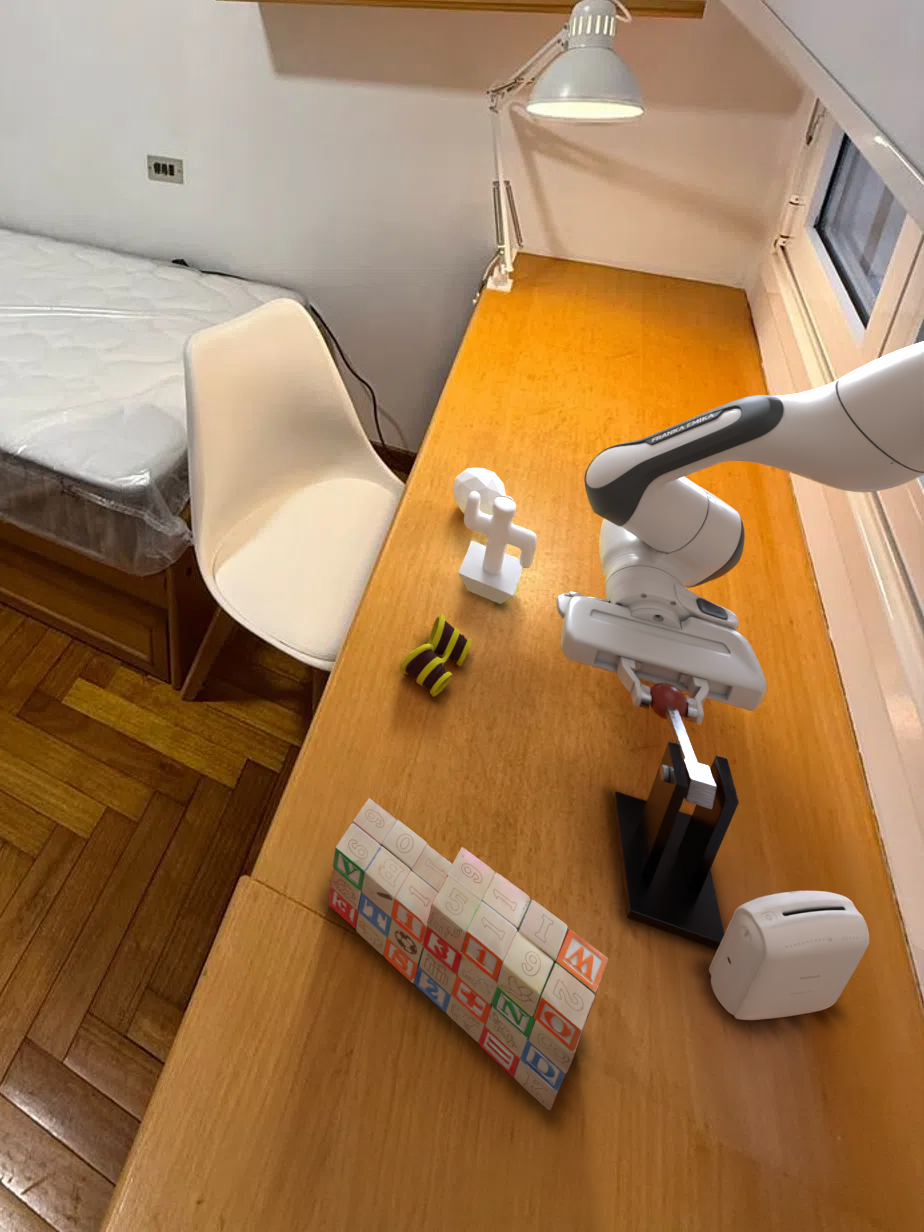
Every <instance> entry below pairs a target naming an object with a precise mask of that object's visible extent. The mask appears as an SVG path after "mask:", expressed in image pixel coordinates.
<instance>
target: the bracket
mask: <svg viewBox="0 0 924 1232" xmlns="http://www.w3.org/2000/svg"><path fill="white" fill-rule="evenodd" d="M710 770H711V773H712V775H713V778H714V780H715V783H716V785H717V791H716V795H715V799H714V804H713V808H712V809H709V808H705V807H702V806H699V805H696V804H695V805H694V808H693V811H692V813H691V814H689V813H686V812H683V811H681V808H682V805H683V802H684V800H685V795H686V792H687V790H688V782H687V778H686V773H685V768H684V763H683V758H682V754H681V749H680V745H679V744H677V743H675V742H674V741H668V742H667V744H666V746H665V750H664V752H663V754H662V758H661V761H660V763H659V766H658V768H657V772H656V774H655V777H654V780H653V783H652V785H651V788H650V791H649V794H648V797H647V799H646V800H645V799H642V798H638V797H636V796H633V795H630V794H626V793H623V792H620V791H617V790H614V793H613V795H612V802H613V803H612V804H613V811H614V818H615V827H616V835H617V843H618V851H619V858H620V867H621V876H622V882H623V883H622V884H623V892H624V893H623V894H624V900H625V907H626V916H627V918H628V919H629V920H633V921H634V922H635V921H636V922H639V923H641V924H644V925H646V926H649V927H652V928H655V929H658V930H660V931H664V932H666V933H670V934H672V935H674V936H677V937H680V938H683V939H686V940H688V941H691V942H695V943H696V944H701V945H703V946H705V947H708V948H711V949H714V950H716V951H717V950H718V948H719V946H720V943H721V941H722V939H723V937H724V935H725V931H724V927H723V923H722V917H721V912H720V906H719V902H718V898H717V894H716V890H715V889H716V888H715V884H714V879H713V875H712V874H713V873H712V870H711V869H712V866H713V864H714V861H715V859H716V857H717V855H718V853H719V850H720V848H721V846H722V843H723V841H724V838H725V836H726V834H727V832H728V829H729V827H730V824H731V822H732V820H733V817H734V816H735V813H736V811H737V808H738V806H739V804H740V801H739V798H738V797H739V796H738V794H737V789H736V786H735V782H734V778H733V775H732V771H731V767H730V763H729V759H728V758H727V757H724V756H721V755H717V754H715V756H714V758H713V761H712V764H711V766H710Z"/></svg>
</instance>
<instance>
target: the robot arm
mask: <svg viewBox="0 0 924 1232" xmlns="http://www.w3.org/2000/svg"><path fill="white" fill-rule="evenodd" d="M728 462H744V463H745V462H746V463H752V464H758V465H762V466H767V467H770V468H774V469H777V470H780V471H781V470H782V471H785V472H787V473H790V474H793V475H797V476H799V477H802V478H805V479H807V480H810V481H813V482H815V483H818V484H820V485H823V486H825V487H829V488H832V489H836V490H841V491H844V492H845V491H847V492H852V493H861V494H862V493H873V492H879V491H880V492H881V491H884V490H889V489H894V488H896V487H899V486H902V485H905V484H907V483H909V482H912V481H914V480H916V479H918V478H920V477H922V476H924V340H923V341H920V342H917V343H914V344H911V345H909V346H906V347H902V348H900V349H898V350H895V351H893V352H891V353H887V354H886V355H883V356H881V357H879V358H877V359H874V360H872V361H870V362H867V363H866V364H864V365H862V366H860V367H858V368H856V369H854V370H852V371H850V372H848V373H846V374H845V375H843V376H841V377H840V378H838V379H836V380H835V381H832V382H830V383H828V384H826V385H823V386H820V387H817V388H814V389H810V390H806V391H801V392H797V393H791V394H782V395H765V394H754V395H749V396H745V397H741V398H738V399H736V400H732V401H729V402H727V403H725V404H722V405H720V406H717V407H715V408H712V409H710V410H708V411H705V412H703V413H700V414H698V415H695V416H693V417H691V418H689V419H686V420H684V421H682V422H679V423H677V424H674V425H672V426H670V427H667V428H665V429H662V430H660V431H657V432H655V433H652V434H651V435H648V436H645V437H642V438H640V439H639V438H638V439H635V440H631V441H625V442H621V443H617V444H614V445H611V446H609V447H607V448H604V449H603V450H601V451H600V452H599V453H598V454H597V455H595V457H593V459H592V460H591V461H590V463H589V464H588V466H587V468H586V470H585V473H584V478H583V480H584V489H585V494H586V497H587V500H588V503H589V505H590V507H591V509H592V511H593V513H594V514H595V515H597V516H599V517H601V518H603V520H602V522H601V526H600V532H599V538H598V548H599V549H598V551H599V552H598V553H599V559H600V567H601V571H602V574H603V576H604V579H605V583H604V593H605V599H604V598H600V597H597V596H590V595H585V594H582V593H580V592H576V591H569V592H568V593H561V594H558V596H557V597H556V609H557V613H558V615H559V616H560V617H561V618H562V624H561V630H560V651H561V653H562V654H563V655H564V656H565V657H566V658H567V660H569V661H572V662H575V663H578V664H582V665H586V666H589V667H593V668H597V669H600V670H603V671H606V672H611V673H614V674H617V679H618V680H619V682H620V683H621V684H622V685H623V687H624V688H625V689H626V690H627V691H628V692H629V694H630V695H631V702H632V705H633V707H637V708H642V709H645V710H650V708H651V706H650V704H651V702H652V696H651V694H650V692H651V691H650V689H651V686H649V685H647V684H643V683H642V682H641V681H644V682H645V683H650V684H654V685H655V684H657V683H669V684H672V685H674V686H675V687H677V688H678V689H679V690H680V691H681V692H682V693H685V694H688V696H685V698H686V701H687V711H686V714H685V715H684V717H683V720H684V721H685V722H691V723H692V724H696V725H702V723H703V720H704V718H705V717H704V716H705V713H704V708H703V705H704V704H705V702H706V700H707V699H708V700H711V701H715V702H718V703H722V704H726V705H729V706H733V707H736V708H740V709H742V710H743V709H744V710H746V711H752V712H753V711H756V710H757V709H758V708H759V707H760V706H761V705H762V703H763V701H764V699H765V696H766V693H767V688H768V687H767V686H768V685H767V680H766V677H765V674H764V671H763V669H762V665H761V663H760V662H759V659H758V657H757V655H756V653H755V651H754V649H753V647H752V645H751V643H750V642H749V641H748V639H747V638H745V636H743V635H742V634H741V633H740V632H738V629H739V624H740V623H739V622H740V621H739V618H738V616H737V614H735V613H734V612H733V611H732V610H730V609H728V608H725V607H723V606H721V605H720V604H717V603H714V602H712V601H711V600H708V599H706V598H704V597H702V596H700V595H698V594H696V593H694V592H693V591H691V590H689V589H690V588H696V587H699V586H701V585H704V584H706V583H709V582H711V581H712V582H713V581H714V580H717V579H719V578H721V577H723V576H725V575H727V574H728V573H729V572H730V571H732V569H734V568H735V567H736V566H737V564H738V563H739V562H740V560H741V558H742V556H743V552H744V548H745V539H746V534H745V526H744V522H743V519H742V516H741V514H740V513H739V511H738V510H737V509H735V508H733V507H732V506H731V505H729V504H728V503H726V502H725V501H723V500H722V499H720V498H719V497H717V496H716V495H715V494H713V493H712V492H710V491H708V490H707V489H705V488H704V487H702V486H700V485H698V484H696V483H695V482H694V481H692V480H691V479H689V478H687V476H689V475H692V474H695V473H697V472H700V471H703V470H706V469H708V468H711V467H713V466H716V465H720V464H722V463H723V464H724V463H728Z"/></svg>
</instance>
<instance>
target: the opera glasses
mask: <svg viewBox="0 0 924 1232" xmlns="http://www.w3.org/2000/svg"><path fill="white" fill-rule="evenodd" d="M472 643H473V640H472V638H469V637H468V638H466V637H465V635H464V634H461V631H460V630H459V629H458V628H457V627H456V626H455V627H454V626H452V624H450V623H449V622H448V621H446V616H445V615H444V614H441V613H440V614H438V615H437V616H436V618H435V620H434V622H433V624H432V627H431V631H430V635H429V639H428V642H427V643H424V644H421V645H419V646H418V647H416V648H414V649H413V650H412V651H411V652H409V653H408V654H407V655H406V656H405V657H404V658H403V660H402V661H401V663H400V665H399V670H400V672H401V673H402V674H403V675H409V676H410V677H412V678H413V679H414V680H416V681H415V682H416V683H417V684H418V685H419V686H421V687H424V689H425V690H429V693H430V695H431V696H432V697H433V698H435V697H436V696H437V695H439V694H440V693H441V692H442V691H443V690H444V689H445V688H446V687H447V686H448V684H450V682H451V680H452V679H453V674H452V673H451V671H447V668H446V666H444V665H445V664H446V662H447V661H448V660H450V661H451V662H456V665H457V666H459V667H461V666H462V665H463V663H464V661H465V659H466V657H467V655H468V653H469V650H470V648H471V645H472ZM437 655H438V656H437Z"/></svg>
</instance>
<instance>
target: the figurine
mask: <svg viewBox="0 0 924 1232" xmlns="http://www.w3.org/2000/svg"><path fill="white" fill-rule="evenodd" d="M480 499H481V497H480V494H479V493H478V492H475V491H473V492H471V493H470V494H469V496H468V499H467V504H466V509H465V515H464V514H463V524H464V526H465V527H466V528H467V529H469V530H471V531H474V532H476V533H479V534H481V535H483V536H486V537H487V540H486V545H485V544H482V543H481V542H477V541H475V540H471V541H470V544H469V546H468V549H467V551H466V554H465V556H464V558H463V560H462V563H461V566H460V568H459V571H458V575H459V577H460V579H461V580H462V582H463V584H464V586H465V588H466V590H467V591H468V592H471V593H473V594H475V595H477V596H479V597H482V598H485V599H487V600H490V601H492V602H494V603H496V604H499V605H501V604H503V603H505V602H506V601H508V600H509V599H511V598H512V597H514V596H515V593H516V590H517V587H518V585H519V581H520V579H521V574H522V571H523V569H530V568H531V567H532V565H533V562H534V559H535V554H536V550H537V546H538V537H537V535H536V533H535V532H534V531H532V530H531V529H527V528H525V527H523V526H520V525H516V524H514V523H513V519H514V518H515V517H516V511H517V504H516V502H515V499H514V498H513V497H511V496H509V495H507V494H506V495H500V496H499V497H497V498H496V499H495V500H494V503H493V508H492V511H493V515H487V514H485V513H482V512H481V511H480V510H479V505H480ZM508 545H511V546H512V547H516V548H518V549H519V550H520V554H519V555H520V556H519V558H518V557H516V556H513V555H512V554H508V553H506V551H507V546H508Z"/></svg>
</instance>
